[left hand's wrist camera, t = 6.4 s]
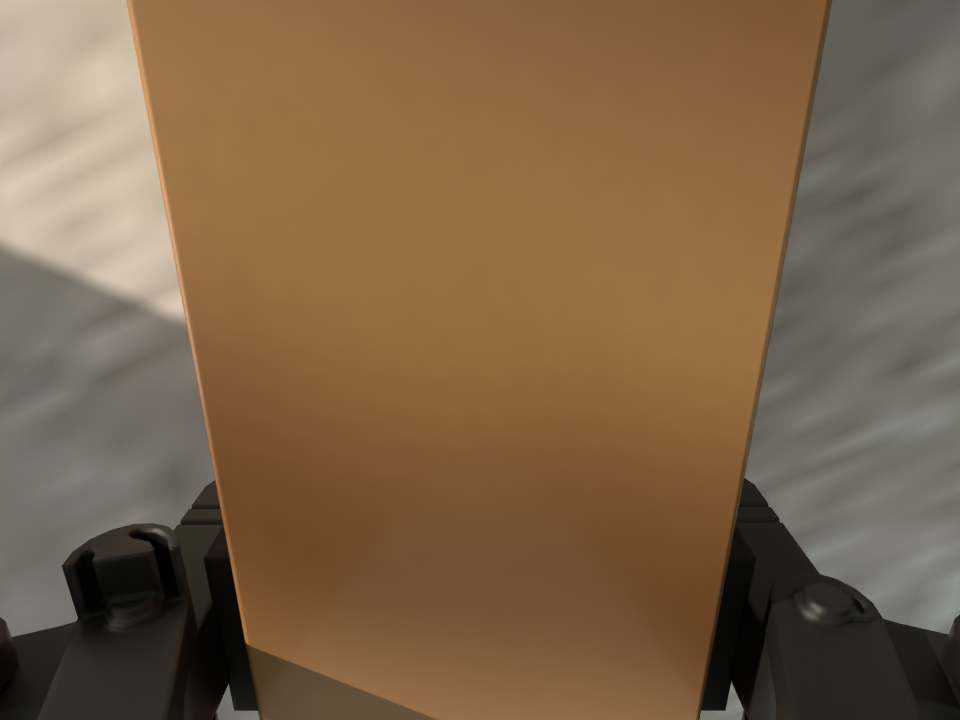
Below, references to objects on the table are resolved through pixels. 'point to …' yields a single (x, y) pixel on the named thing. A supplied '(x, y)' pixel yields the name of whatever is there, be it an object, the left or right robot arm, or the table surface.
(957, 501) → the table surface
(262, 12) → the beam
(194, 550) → the left robot arm
